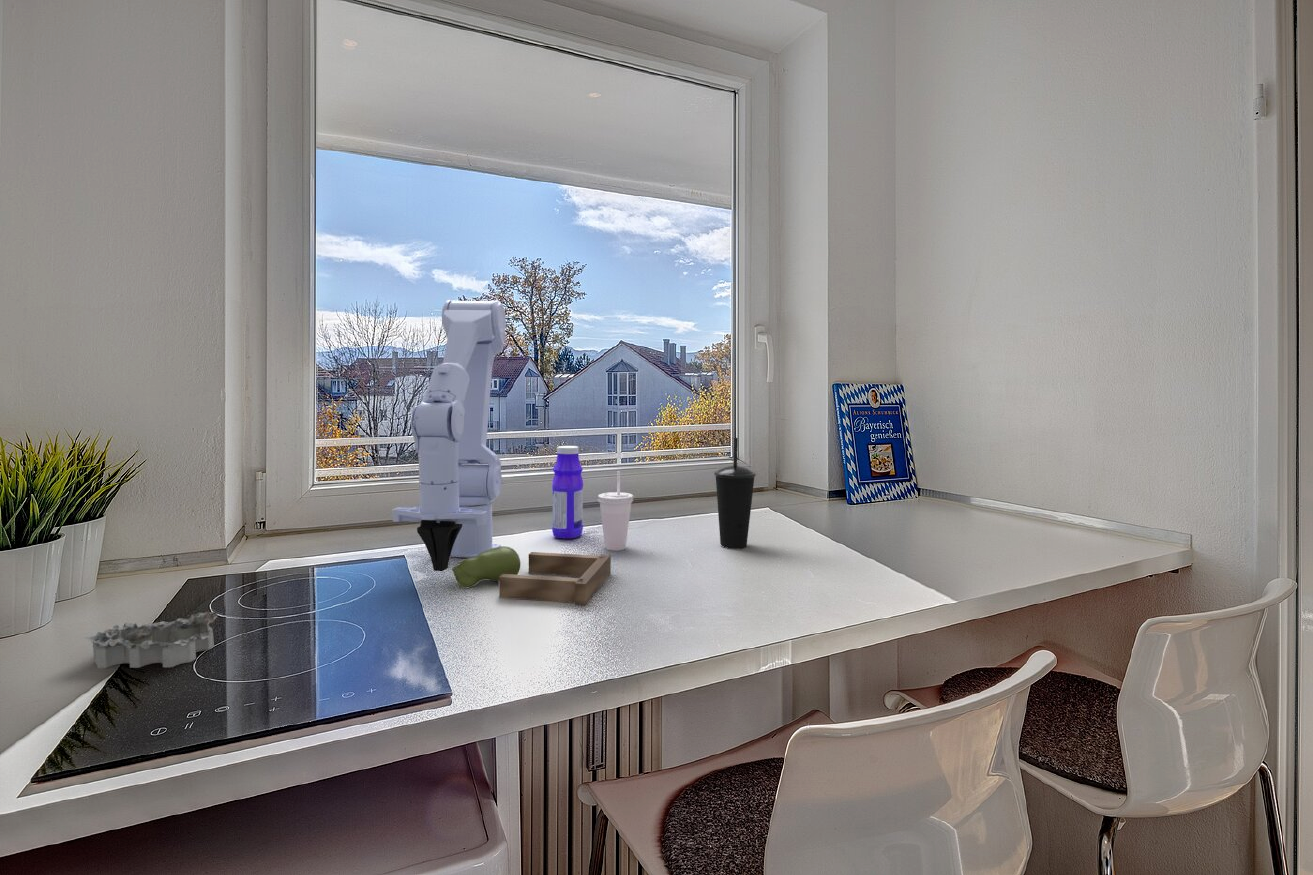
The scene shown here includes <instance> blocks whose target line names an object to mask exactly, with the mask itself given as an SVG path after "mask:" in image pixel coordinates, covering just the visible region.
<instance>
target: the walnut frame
mask: <svg viewBox="0 0 1313 875" xmlns="http://www.w3.org/2000/svg"><path fill="white" fill-rule="evenodd" d="M527 556H528V557H527V558H528V574H517V575H515V574H502V575H501V576H499V582H498V598H501V599H512V600H513V599H515V600H529V601H530V600H532V601H544V602H545V601H546V602H557V603H558V602H560V603H573V604H574V605H575V606H576V605H577V606H586V605H588V603H589V602H590V601H591V599H592V598H593V597H594V596H595V594H596V592H597V591H598V590H599V589H600V588H601V586H602V585H603V584H604V583H605V581H606V580H607V579H608V578H609V576H610V575H611V574H612V573H611V571H612V569H611V568H612V562H611V558H612V557H611V556H612V555H611V554H600V555H595V554H594V555H593V554H591V555H590V554H577V553H576V554H575V553H574V554H573V553H559V552H558V553H556V552H541V551H538V552H537V551H531V552H530V553H528V555H527ZM529 574H536V575H529ZM537 574H539V575H537ZM541 574H543V575H541ZM554 574H556V576H548V575H554ZM546 575H547V576H546ZM560 576H561V577H560ZM563 576H574V577H563ZM575 576H576V577H575Z"/></svg>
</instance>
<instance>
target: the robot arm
mask: <svg viewBox="0 0 1313 875" xmlns="http://www.w3.org/2000/svg"><path fill="white" fill-rule="evenodd" d="M506 319H507V318H506V311H505V306H504V305H503V304H502V302H501V301H500V300H498V299H497V300H491V301H490V300H489V301H488V300H486V301H485V300H483V301H482V300H453V299H448V300H446V301H445V303H444V304H443V306H442V309H441V322H442V324H441V325H442V327H443V331H444V333H445V335H446V338H447V340H446V345H445V351H444V355H443V360H442V363H440V364H437V365H436V366H435V367H434V368H433V369H432V373H431V377H430V380H429V383H428V385H427V389H426V391H425V394H424V398H423V401H421V402H420V403H419V404H418V405H415V406H414V407H413V409H412V413H411V418H410V429H411V434H412V436H413V437H412V438H413V439H414V440H413V441H414V450H415V452H417V453H418V482H419V483H418V484H419V487H418V488H419V506H398V507H395V508H393V509H392V510H391V512H392V522H394V523H400V522H412V523H413V522H415V523H416V522H417V523H420V526H418V527H417V528H416V532H417V534H418V536H419V537H420V539H421V540H422V542H423V543H424V545H425V547H426V549H427V552H428V555H429V558H430V561H431V565H432V568H433V571H434V572H444V571H445V570H447V569H449V563H450V558H451V557H453V558H466V559H467V558H472V557H475V556H477V555H478V554H480V553H482V552H484V551H486V550H489V549H492V548H496V547H502V545H501V544H499V543H498V544H497V543H493V502H494V501H496V500H497V499H498V497H499V496H500V495H501V490H502V485H503V482H502V481H503V480H502V469H501V468H502V462H501V459H500V457H499V456H498V455H497V454H496V453H495V452H494V451H492V450H491V449H490V448H489V447H488V446H487V442H488V441H487V439H488V426H489V415H490V414H489V412H490V402H491V389H492V388H491V387H492V376H493V368H494V367H493V366H494V361H495V356H497V355H498V354H500V353H501V352H503V350H504V345H505V342H506V340H505V339H506V327H507V321H506Z"/></svg>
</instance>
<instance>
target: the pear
mask: <svg viewBox="0 0 1313 875" xmlns="http://www.w3.org/2000/svg"><path fill="white" fill-rule="evenodd" d="M451 571H452V573H453V576H454V579H455V581H456V583H457V584H458V586H459V588H461V589H462V588H463V589H467V588H472V587H474V586H476V585H477V584H478V583H480V582H481V581H485V580H486V581H487V580H488V581H491V582H493V581H494V582H498V583H499V576H501V575H502V574H515V575H519V573H520V571H521V558H520V555H519V554H518V553H517V551H516V550H515V549H513V548H512V547H510V546H502V545H501V547H496V548H492V549H489V550H486V551H484V552H482V553H480V554H478V555H477V556H475V557H472V558H467V557H466V558H465V559H463V560H462V561H460V562H458V565H456V566H453V568H452V569H451Z"/></svg>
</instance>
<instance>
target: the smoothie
mask: <svg viewBox="0 0 1313 875" xmlns="http://www.w3.org/2000/svg"><path fill="white" fill-rule="evenodd" d="M597 497H598V499H597V502H599V507H600V509H599V510H600V517H601V526H602V532H603V541H604V548H605V550H607V551H615V552H616V551H617V552H618V551H624V550H626V548H627V547H626V545H627V541H628V540H627V539H628V531H629V523H630V515H631V511H632V510H631V508H632V503H633V502H634V494H632V493H630V492H629V493H628V492H621V471H620V470H617V472H616V491H614V492H602V493H599V494H598V496H597Z"/></svg>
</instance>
